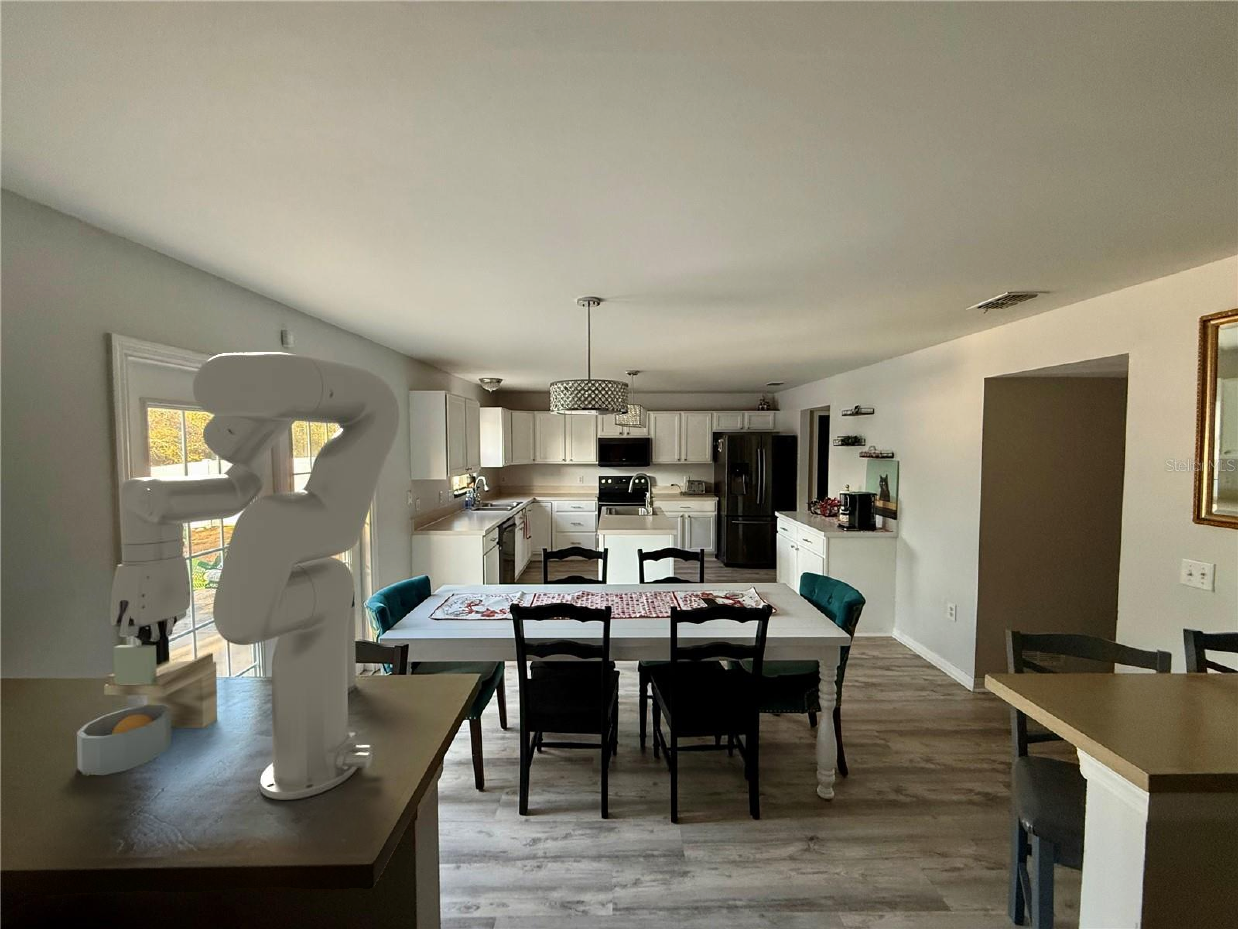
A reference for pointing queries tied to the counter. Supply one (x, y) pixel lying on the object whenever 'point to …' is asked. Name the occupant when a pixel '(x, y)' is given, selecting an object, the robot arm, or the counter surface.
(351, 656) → the travel mug
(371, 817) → the counter surface
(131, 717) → the ball
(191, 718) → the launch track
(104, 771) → the gray oval basket
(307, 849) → the counter surface
